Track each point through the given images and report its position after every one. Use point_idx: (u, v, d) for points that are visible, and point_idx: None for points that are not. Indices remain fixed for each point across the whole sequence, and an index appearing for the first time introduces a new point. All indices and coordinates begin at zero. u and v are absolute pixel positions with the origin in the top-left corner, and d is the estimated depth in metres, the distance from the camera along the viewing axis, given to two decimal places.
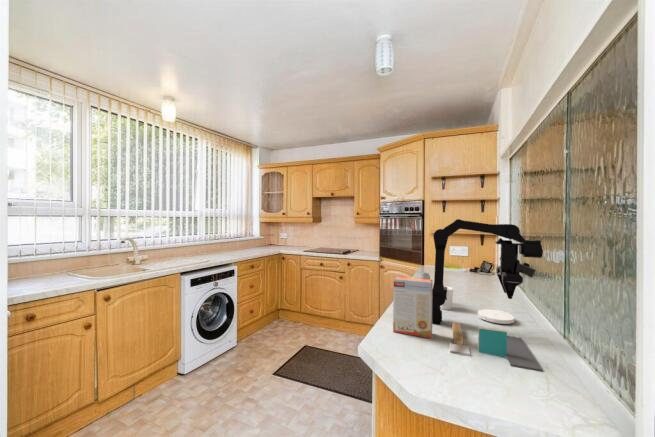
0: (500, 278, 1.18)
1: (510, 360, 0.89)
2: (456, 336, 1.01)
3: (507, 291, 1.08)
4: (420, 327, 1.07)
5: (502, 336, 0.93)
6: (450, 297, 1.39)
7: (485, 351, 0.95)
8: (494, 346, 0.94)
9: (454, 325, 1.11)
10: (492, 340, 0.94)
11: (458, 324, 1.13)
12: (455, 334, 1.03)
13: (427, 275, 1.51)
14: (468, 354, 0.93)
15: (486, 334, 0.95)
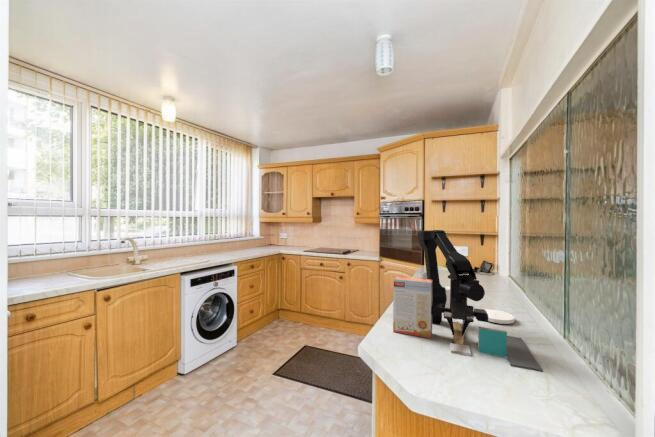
0: None
1: (510, 360, 0.89)
2: (456, 336, 1.01)
3: None
4: (420, 327, 1.07)
5: (502, 336, 0.93)
6: None
7: (485, 351, 0.95)
8: (494, 346, 0.94)
9: (454, 325, 1.12)
10: (492, 340, 0.94)
11: (458, 323, 1.13)
12: (455, 334, 1.03)
13: None
14: (469, 354, 0.93)
15: (486, 334, 0.95)
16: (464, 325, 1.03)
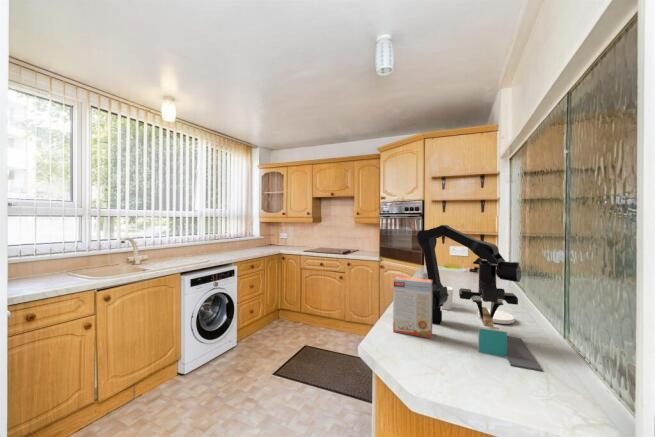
0: (491, 303, 1.08)
1: (510, 360, 0.89)
2: (486, 318, 1.03)
3: None
4: (420, 327, 1.07)
5: (502, 336, 0.93)
6: (450, 297, 1.39)
7: (485, 351, 0.95)
8: (494, 346, 0.94)
9: None
10: (492, 340, 0.94)
11: (485, 308, 1.15)
12: (485, 317, 1.05)
13: (427, 275, 1.51)
14: None
15: (486, 334, 0.95)
16: (493, 308, 1.05)
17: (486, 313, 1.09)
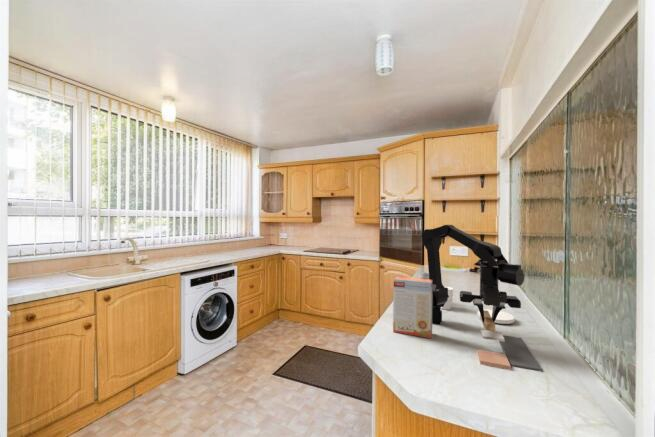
0: (493, 306, 1.05)
1: (510, 360, 0.89)
2: (488, 322, 0.99)
3: (480, 313, 1.05)
4: (420, 327, 1.07)
5: None
6: (450, 297, 1.39)
7: None
8: None
9: None
10: None
11: (487, 312, 1.11)
12: (486, 320, 1.01)
13: (427, 275, 1.51)
14: (502, 339, 0.92)
15: None
16: (495, 312, 1.01)
17: (488, 317, 1.05)
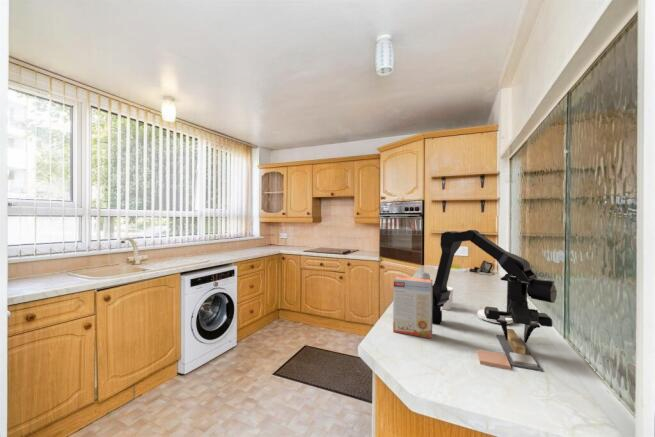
0: (525, 324, 0.98)
1: (510, 360, 0.89)
2: (517, 344, 0.94)
3: (502, 329, 1.00)
4: (420, 327, 1.07)
5: None
6: (450, 297, 1.39)
7: None
8: None
9: (509, 332, 1.04)
10: None
11: (512, 331, 1.05)
12: (514, 342, 0.95)
13: (427, 275, 1.51)
14: (535, 365, 0.86)
15: None
16: (528, 331, 0.95)
17: (515, 337, 0.99)
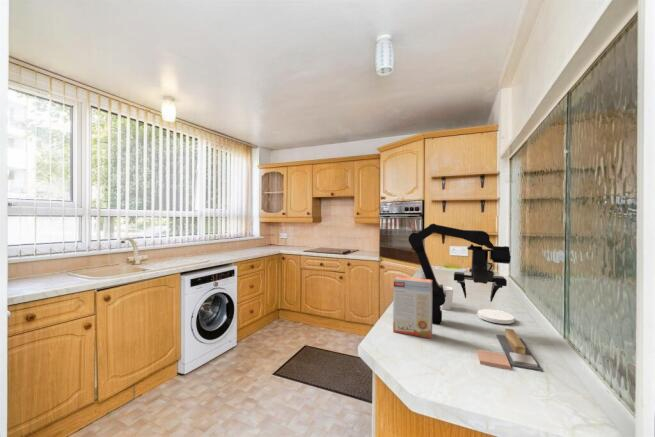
0: (492, 286, 1.17)
1: (510, 360, 0.89)
2: (517, 344, 0.94)
3: None
4: (420, 327, 1.07)
5: None
6: (450, 297, 1.39)
7: None
8: None
9: (509, 332, 1.04)
10: None
11: (512, 331, 1.05)
12: (514, 342, 0.95)
13: None
14: (535, 365, 0.86)
15: None
16: (493, 291, 1.14)
17: (515, 337, 0.99)
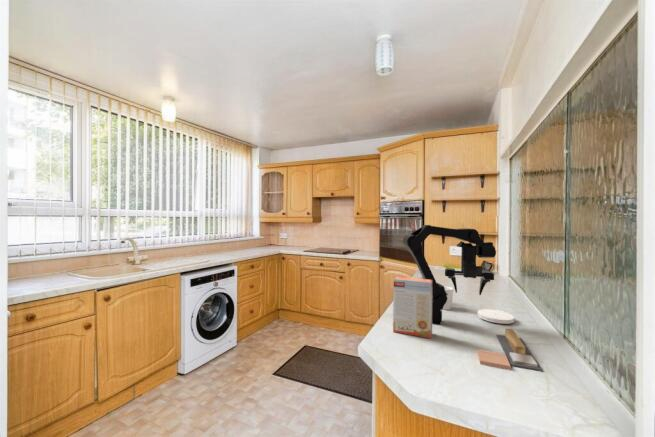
0: (480, 280, 1.24)
1: (510, 360, 0.89)
2: (517, 344, 0.94)
3: None
4: (420, 327, 1.07)
5: None
6: (450, 297, 1.39)
7: None
8: None
9: (509, 332, 1.04)
10: None
11: (512, 331, 1.05)
12: (514, 342, 0.95)
13: None
14: (535, 365, 0.86)
15: None
16: (482, 285, 1.21)
17: (515, 337, 0.99)
